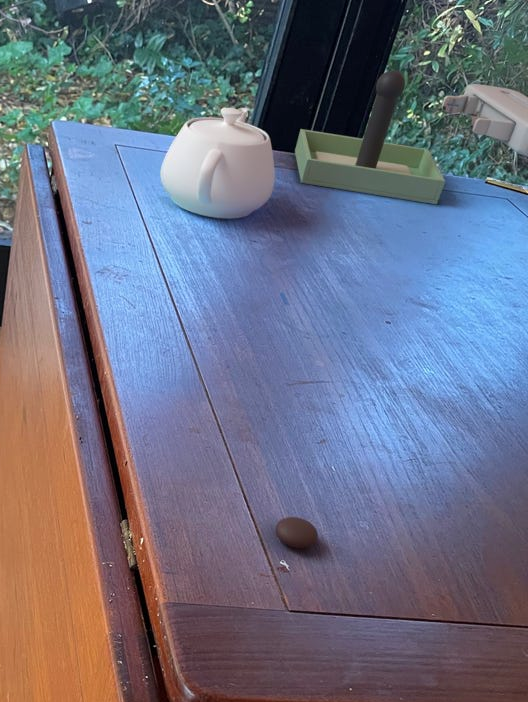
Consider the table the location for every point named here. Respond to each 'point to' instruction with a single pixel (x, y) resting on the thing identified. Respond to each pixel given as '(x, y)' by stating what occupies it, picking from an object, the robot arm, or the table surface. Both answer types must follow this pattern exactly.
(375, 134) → the joystick
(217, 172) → the teapot
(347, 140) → the tray
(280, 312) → the table surface
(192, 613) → the table surface
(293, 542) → the chocolate truffle
